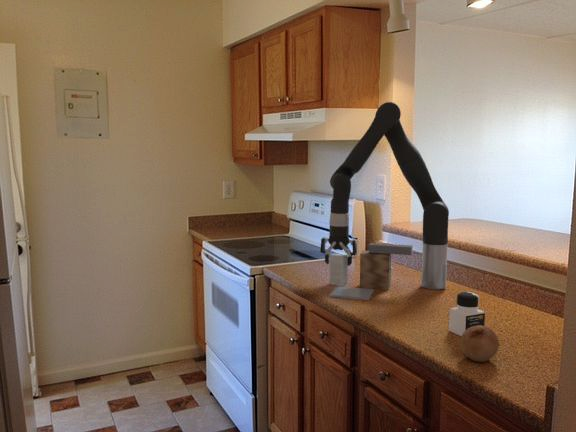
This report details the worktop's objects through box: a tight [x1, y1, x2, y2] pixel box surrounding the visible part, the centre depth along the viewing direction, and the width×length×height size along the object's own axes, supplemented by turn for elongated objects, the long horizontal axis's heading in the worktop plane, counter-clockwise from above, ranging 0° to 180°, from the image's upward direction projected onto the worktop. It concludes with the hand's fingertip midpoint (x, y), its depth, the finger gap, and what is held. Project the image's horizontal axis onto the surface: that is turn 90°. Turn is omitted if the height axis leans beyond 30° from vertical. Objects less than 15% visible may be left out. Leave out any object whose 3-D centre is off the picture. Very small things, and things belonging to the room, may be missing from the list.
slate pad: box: [329, 285, 375, 301], centre depth 197 cm, size 14×12×1 cm
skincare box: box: [329, 253, 349, 287], centre depth 210 cm, size 6×4×12 cm
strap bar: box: [368, 242, 414, 256], centre depth 203 cm, size 16×4×3 cm, turn 72°
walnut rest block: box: [359, 250, 392, 291], centre depth 206 cm, size 11×6×14 cm, turn 72°
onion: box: [459, 325, 500, 363], centre depth 137 cm, size 10×9×10 cm
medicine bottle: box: [448, 291, 486, 337], centre depth 156 cm, size 7×7×12 cm
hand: (338, 264), depth 210 cm, fingers open, 8 cm apart
